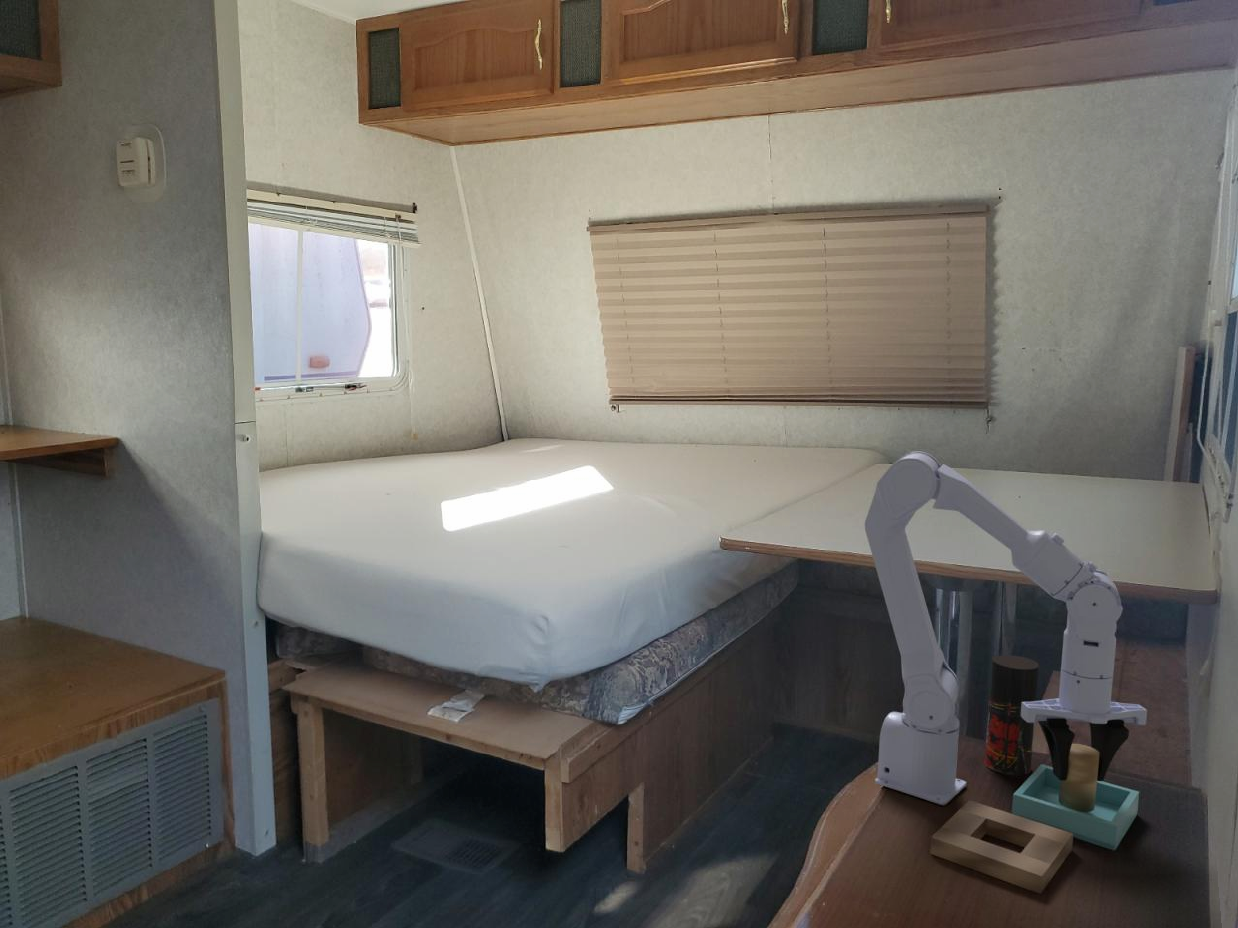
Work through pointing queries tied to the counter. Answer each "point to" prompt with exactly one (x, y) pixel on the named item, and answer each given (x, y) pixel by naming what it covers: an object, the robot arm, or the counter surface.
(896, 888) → the counter surface
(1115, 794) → the tray
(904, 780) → the robot arm
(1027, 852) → the socket block
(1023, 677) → the deodorant
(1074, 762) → the dowel
